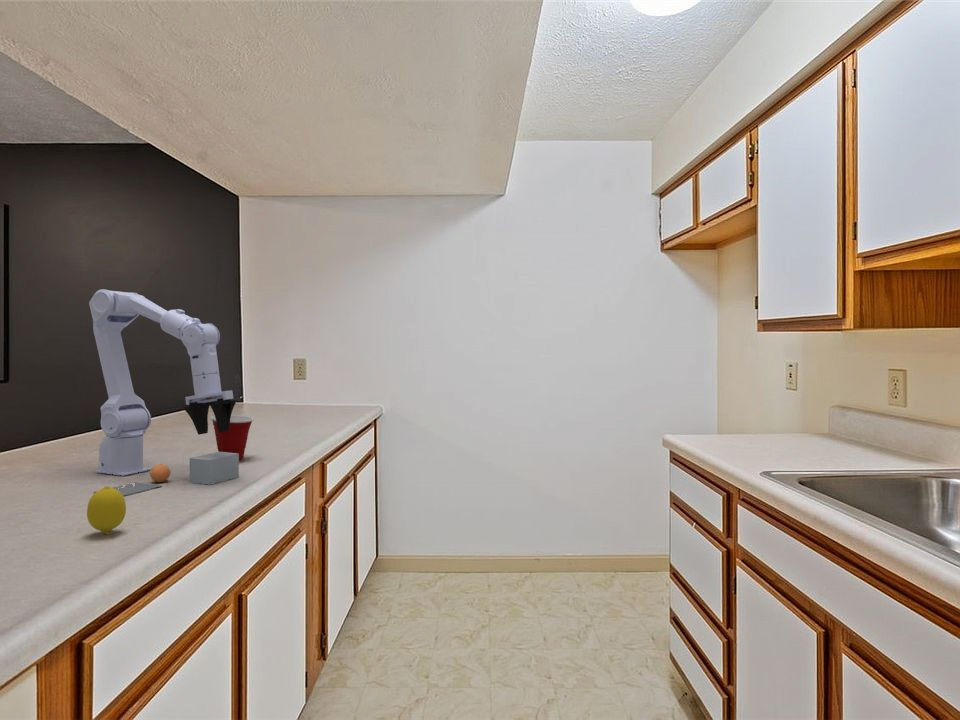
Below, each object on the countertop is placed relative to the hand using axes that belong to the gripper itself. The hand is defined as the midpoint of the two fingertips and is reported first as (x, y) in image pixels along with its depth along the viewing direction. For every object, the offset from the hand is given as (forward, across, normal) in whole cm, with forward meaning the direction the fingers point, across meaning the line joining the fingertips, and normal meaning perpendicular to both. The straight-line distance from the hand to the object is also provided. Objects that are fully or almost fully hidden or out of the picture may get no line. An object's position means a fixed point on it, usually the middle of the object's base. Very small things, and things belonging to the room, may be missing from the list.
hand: (213, 432), depth 139 cm
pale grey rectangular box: (+11, +2, 0) cm, 11 cm away
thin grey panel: (+9, +8, +16) cm, 20 cm away
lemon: (+13, -17, +35) cm, 41 cm away
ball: (+7, +9, +8) cm, 14 cm away
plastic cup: (+9, +17, -17) cm, 26 cm away
